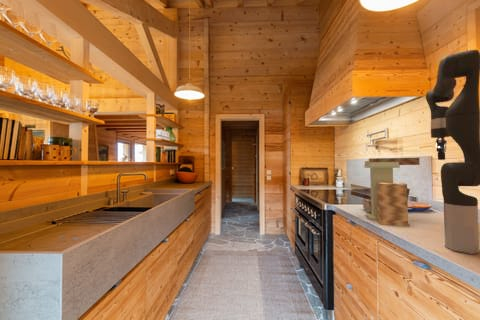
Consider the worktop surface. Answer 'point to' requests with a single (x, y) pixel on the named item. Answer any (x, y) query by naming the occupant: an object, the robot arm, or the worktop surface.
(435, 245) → the worktop surface
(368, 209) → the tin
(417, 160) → the walnut rod
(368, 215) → the t-shaped pedestal stand
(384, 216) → the block
